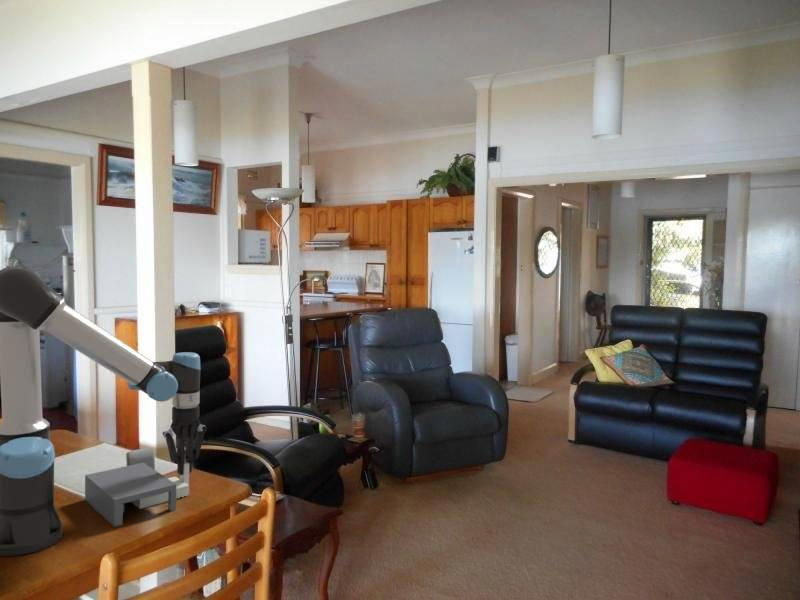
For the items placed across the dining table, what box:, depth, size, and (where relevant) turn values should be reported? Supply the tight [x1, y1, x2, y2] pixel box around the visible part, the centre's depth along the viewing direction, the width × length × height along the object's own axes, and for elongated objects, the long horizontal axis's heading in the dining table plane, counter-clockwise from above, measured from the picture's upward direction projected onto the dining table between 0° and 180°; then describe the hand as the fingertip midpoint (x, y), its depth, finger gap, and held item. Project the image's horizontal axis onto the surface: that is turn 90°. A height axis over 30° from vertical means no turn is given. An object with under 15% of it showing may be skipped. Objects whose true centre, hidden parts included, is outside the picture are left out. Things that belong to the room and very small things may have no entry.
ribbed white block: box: [130, 476, 190, 510], centre depth 165 cm, size 14×9×3 cm, turn 136°
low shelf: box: [84, 463, 177, 528], centre depth 159 cm, size 16×22×7 cm
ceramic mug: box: [125, 446, 156, 471], centre depth 182 cm, size 11×8×8 cm
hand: (184, 484), depth 171 cm, fingers closed
